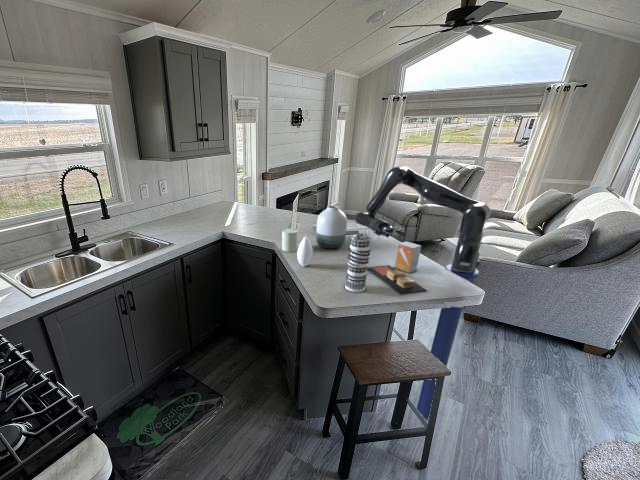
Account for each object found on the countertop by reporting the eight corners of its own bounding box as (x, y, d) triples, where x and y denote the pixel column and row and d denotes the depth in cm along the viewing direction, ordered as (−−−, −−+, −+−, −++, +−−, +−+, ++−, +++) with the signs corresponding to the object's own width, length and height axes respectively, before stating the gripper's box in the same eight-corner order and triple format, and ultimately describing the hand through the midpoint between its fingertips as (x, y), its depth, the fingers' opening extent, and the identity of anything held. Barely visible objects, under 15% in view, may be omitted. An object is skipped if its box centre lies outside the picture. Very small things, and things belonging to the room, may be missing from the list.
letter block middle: (396, 275, 157) (397, 269, 155) (402, 279, 152) (403, 273, 151) (386, 276, 156) (387, 270, 155) (392, 280, 151) (393, 274, 150)
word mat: (388, 266, 168) (388, 265, 167) (425, 290, 142) (426, 289, 142) (366, 268, 166) (367, 267, 166) (400, 294, 141) (401, 292, 140)
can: (299, 247, 197) (299, 228, 192) (294, 252, 190) (295, 232, 185) (284, 245, 201) (284, 227, 196) (279, 250, 193) (279, 231, 188)
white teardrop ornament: (293, 265, 172) (294, 233, 165) (303, 261, 177) (305, 229, 170) (305, 270, 167) (307, 236, 160) (315, 265, 171) (317, 232, 164)
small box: (394, 267, 166) (398, 243, 160) (402, 264, 169) (406, 240, 163) (409, 273, 159) (413, 248, 154) (416, 270, 162) (421, 245, 157)
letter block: (406, 282, 149) (407, 276, 148) (413, 287, 145) (414, 281, 144) (396, 283, 149) (397, 277, 147) (403, 288, 144) (404, 282, 143)
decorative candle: (345, 291, 144) (351, 237, 134) (343, 282, 152) (348, 231, 142) (367, 293, 142) (374, 238, 132) (363, 283, 151) (370, 231, 141)
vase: (331, 253, 187) (335, 211, 178) (309, 245, 200) (311, 206, 190) (350, 246, 196) (354, 206, 186) (328, 239, 209) (330, 202, 199)
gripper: (368, 220, 180) (384, 229, 166) (391, 218, 182) (410, 226, 168) (366, 233, 183) (382, 243, 169) (389, 231, 185) (407, 240, 171)
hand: (396, 235), depth 168 cm, fingers open, 8 cm apart
